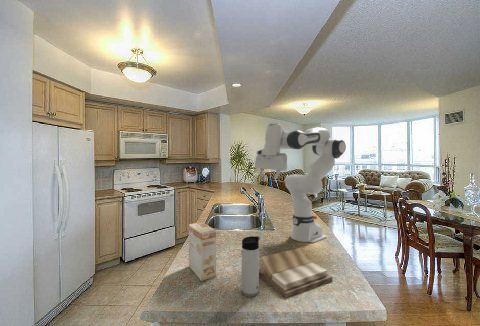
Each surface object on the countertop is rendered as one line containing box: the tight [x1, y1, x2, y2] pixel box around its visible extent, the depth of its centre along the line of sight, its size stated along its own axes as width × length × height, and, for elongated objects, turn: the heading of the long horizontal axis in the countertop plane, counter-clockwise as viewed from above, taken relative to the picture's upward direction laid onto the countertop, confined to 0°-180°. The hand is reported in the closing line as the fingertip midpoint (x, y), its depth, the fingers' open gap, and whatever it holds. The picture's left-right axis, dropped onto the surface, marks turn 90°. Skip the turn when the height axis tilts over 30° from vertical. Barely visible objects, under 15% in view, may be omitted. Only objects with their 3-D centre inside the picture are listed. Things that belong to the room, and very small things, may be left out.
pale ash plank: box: [272, 261, 328, 290], centre depth 90 cm, size 22×8×2 cm, turn 118°
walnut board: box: [259, 266, 334, 299], centre depth 94 cm, size 24×20×2 cm
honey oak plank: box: [259, 247, 313, 277], centre depth 97 cm, size 22×8×2 cm
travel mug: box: [241, 235, 261, 298], centre depth 83 cm, size 6×7×20 cm
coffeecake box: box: [188, 222, 217, 282], centre depth 98 cm, size 15×7×20 cm, turn 32°
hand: (269, 177), depth 124 cm, fingers open, 8 cm apart
